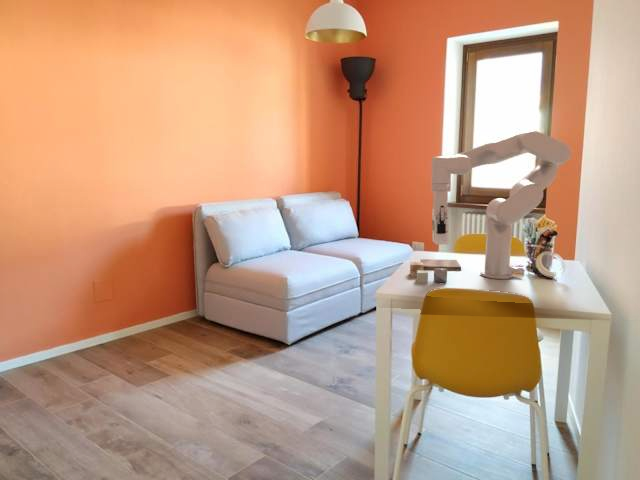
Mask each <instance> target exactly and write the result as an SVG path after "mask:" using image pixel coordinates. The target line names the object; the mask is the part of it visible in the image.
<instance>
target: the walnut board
mask: <svg viewBox="0 0 640 480" xmlns="http://www.w3.org/2000/svg"><path fill="white" fill-rule="evenodd" d="M420 262H423V271H432V270H433V271H434V269H435V268H444V269H447V271H462V266H461V265H460V263H459V262H458V260H457V259H433V258H432V259H429V258H428V259H427V258H426V259H425V258H423V259H420Z"/></svg>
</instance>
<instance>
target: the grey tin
mask: <svg viewBox="0 0 640 480" xmlns="http://www.w3.org/2000/svg"><path fill="white" fill-rule="evenodd" d="M446 282H447V283H448V270H447V269H444V268H435V269H434V270H433V283H435V284H440V283H443V284H447V283H446Z"/></svg>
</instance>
